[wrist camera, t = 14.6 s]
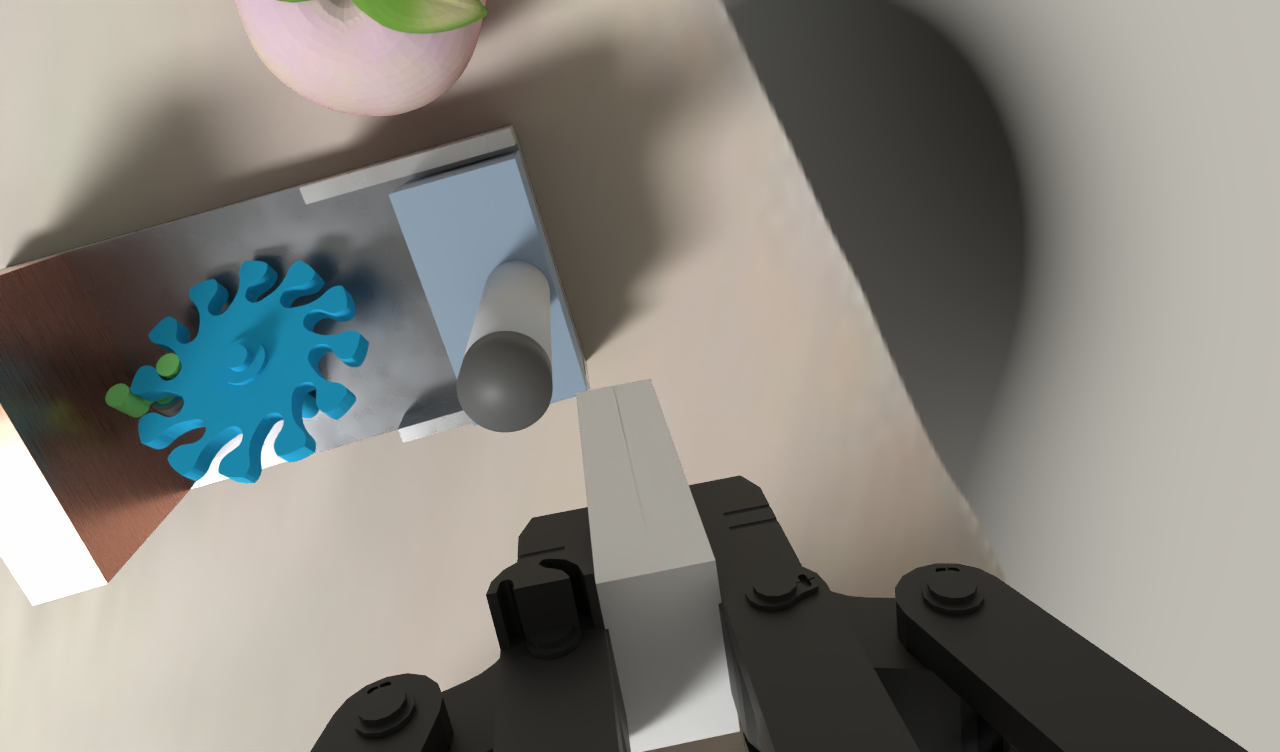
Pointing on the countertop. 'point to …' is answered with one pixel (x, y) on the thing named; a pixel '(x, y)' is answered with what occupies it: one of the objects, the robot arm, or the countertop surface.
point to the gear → (244, 372)
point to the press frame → (159, 287)
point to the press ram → (492, 290)
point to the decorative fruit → (365, 49)
